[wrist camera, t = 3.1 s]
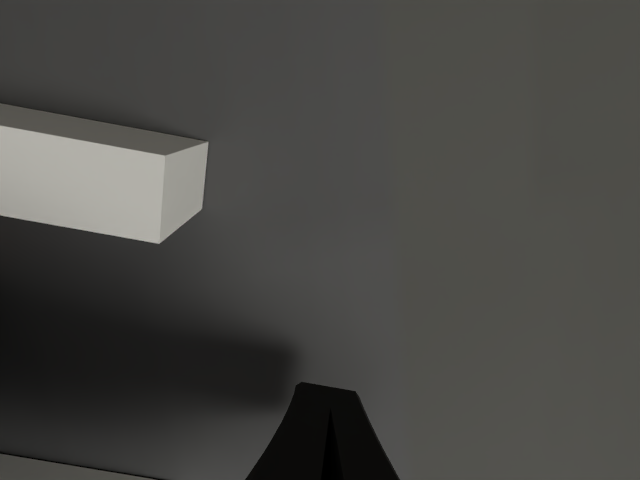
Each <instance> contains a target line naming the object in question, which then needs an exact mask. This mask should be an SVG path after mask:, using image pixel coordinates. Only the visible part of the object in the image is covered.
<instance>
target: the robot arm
mask: <svg viewBox="0 0 640 480" xmlns="http://www.w3.org/2000/svg"><path fill="white" fill-rule="evenodd" d="M245 480H400V479H399V477H398V476H397V474H396V472H395V470H394V468H393V466H392V464H391V463H390V461H389V459H388V457H387V455H386V453H385V451H384V450H383V448H382V446H381V444H380V442H379V440H378V438H377V436H376V434H375V431H374V429H373V427H372V425H371V423H370V421H369V419H368V417H367V414H366V412H365V410H364V407H363V405H362V403H361V400H360V398H359V396H358V394H357V393H356V391H351V390H345V389H339V388H333V387H328V386H322V385H316V384H310V383H305V382H301V383H299V384H297V385H296V387H295V392H294V395H293V398H292V401H291V403H290V406H289V408H288V410H287V412H286V414H285V416H284V418H283V420H282V422H281V424H280V426H279V428H278V429H277V431H276V433H275V435H274V436H273V438H272V440H271V442H270V443H269V445H268V447H267V448H266V450H265V451H264V453H263V454H262V456H261V457H260V459H259V460H258V462H257V463H256V465H255V466H254V468H253V469H252V471H251V472H250V474H249V475H248V477H247V478H246V479H245Z"/></svg>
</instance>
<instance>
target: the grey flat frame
mask: <svg viewBox="0 0 640 480" xmlns="http://www.w3.org/2000/svg"><path fill="white" fill-rule="evenodd" d="M207 152H208V141H202V140H197V139H191V138H186V137H180V136H175V135H170V134H164V133H159V132H153V131H148V130H142V129H137V128H132V127H126V126H121V125H115V124H110V123H105V122H99V121H94V120H88V119H83V118H77V117H72V116H67V115H61V114H56V113H50V112H45V111H39V110H34V109H29V108H23V107H18V106H12V105H7V104H1V103H0V215H1V216H6V217H12V218H18V219H23V220H29V221H34V222H40V223H46V224H51V225H57V226H62V227H68V228H74V229H79V230H85V231H90V232H96V233H102V234H107V235H113V236H118V237H124V238H130V239H135V240H141V241H147V242H152V243H158V244H160V243H161V242H162V241H163V240H164V239H166V238H167V237H168V236H169V235H171V234H172V233H173V232H174V231H176V230H177V229H178V228H179V227H180V226H182V225H183V224H184V223H185V222H187V221H188V220H189V219H190V218H191V217H193V216H194V215H195V214H196V213H198V212H199V211H200V210H201V209H202V203H203V193H204V183H205V173H206V162H207ZM0 480H156V479H150V478H143V477H137V476H131V475H125V474H119V473H113V472H107V471H101V470H95V469H89V468H83V467H77V466H71V465H65V464H59V463H53V462H47V461H41V460H35V459H29V458H23V457H17V456H11V455H5V454H0Z"/></svg>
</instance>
